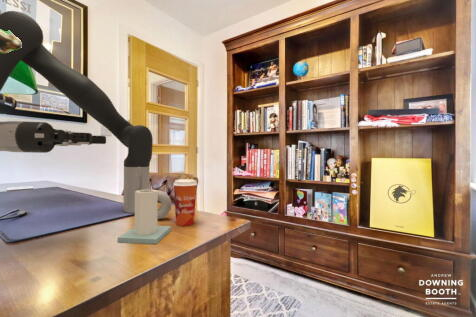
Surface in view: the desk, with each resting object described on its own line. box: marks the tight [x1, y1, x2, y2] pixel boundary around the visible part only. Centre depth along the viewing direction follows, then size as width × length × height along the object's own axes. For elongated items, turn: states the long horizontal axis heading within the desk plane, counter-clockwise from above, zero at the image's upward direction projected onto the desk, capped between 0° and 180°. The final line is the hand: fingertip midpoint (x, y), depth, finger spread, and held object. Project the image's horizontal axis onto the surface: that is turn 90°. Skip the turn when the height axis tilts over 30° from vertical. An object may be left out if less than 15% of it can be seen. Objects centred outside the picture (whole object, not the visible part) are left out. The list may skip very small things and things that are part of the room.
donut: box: [157, 190, 172, 221], centre depth 75 cm, size 10×4×10 cm, turn 97°
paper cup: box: [173, 178, 199, 227], centre depth 71 cm, size 8×8×14 cm
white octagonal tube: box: [134, 189, 159, 235], centre depth 60 cm, size 5×5×11 cm
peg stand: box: [116, 225, 172, 245], centre depth 60 cm, size 10×10×8 cm
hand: (99, 138), depth 57 cm, fingers open, 8 cm apart
